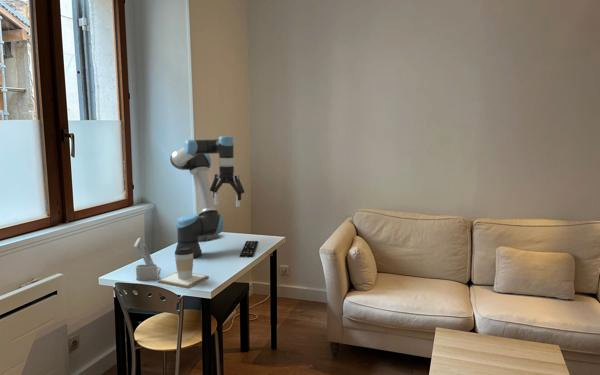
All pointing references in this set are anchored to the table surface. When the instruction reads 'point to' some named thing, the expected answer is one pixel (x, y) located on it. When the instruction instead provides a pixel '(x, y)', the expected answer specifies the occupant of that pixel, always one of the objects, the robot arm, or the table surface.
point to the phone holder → (150, 268)
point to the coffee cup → (184, 262)
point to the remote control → (249, 249)
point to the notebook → (182, 280)
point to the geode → (206, 237)
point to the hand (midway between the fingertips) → (227, 205)
